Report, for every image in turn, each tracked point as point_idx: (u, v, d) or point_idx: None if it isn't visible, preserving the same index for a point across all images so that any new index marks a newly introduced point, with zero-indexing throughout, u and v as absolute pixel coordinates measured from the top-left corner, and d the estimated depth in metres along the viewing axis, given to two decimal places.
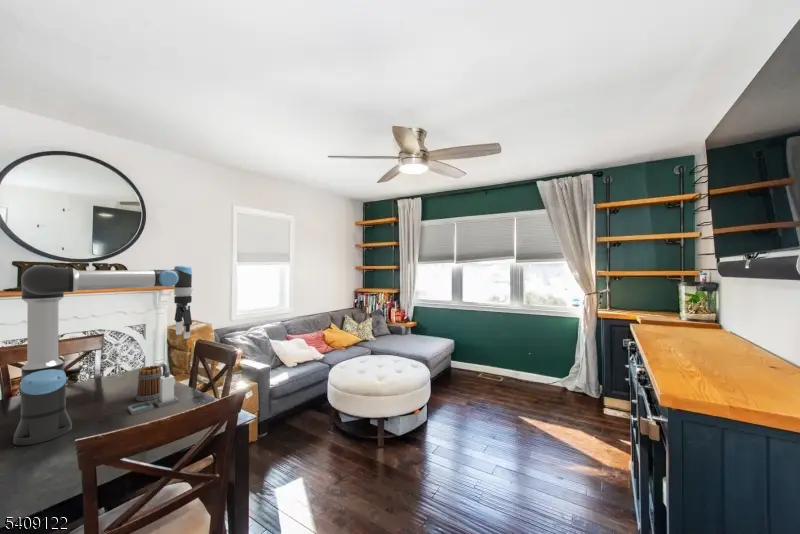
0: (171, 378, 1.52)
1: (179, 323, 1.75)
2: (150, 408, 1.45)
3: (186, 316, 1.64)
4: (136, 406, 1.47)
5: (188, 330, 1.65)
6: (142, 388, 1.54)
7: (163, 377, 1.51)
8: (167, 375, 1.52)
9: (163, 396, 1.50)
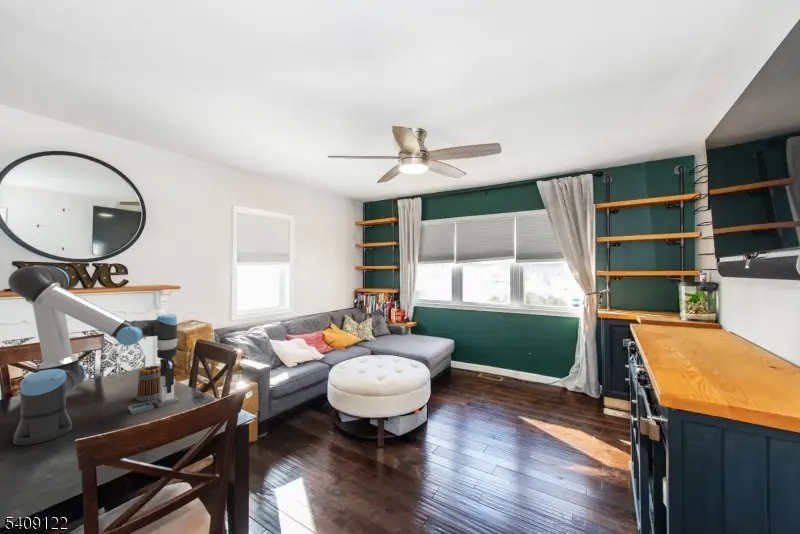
0: None
1: None
2: (150, 408, 1.45)
3: (168, 376, 1.48)
4: (136, 406, 1.47)
5: (169, 391, 1.50)
6: (142, 388, 1.54)
7: (163, 377, 1.51)
8: None
9: (163, 396, 1.50)
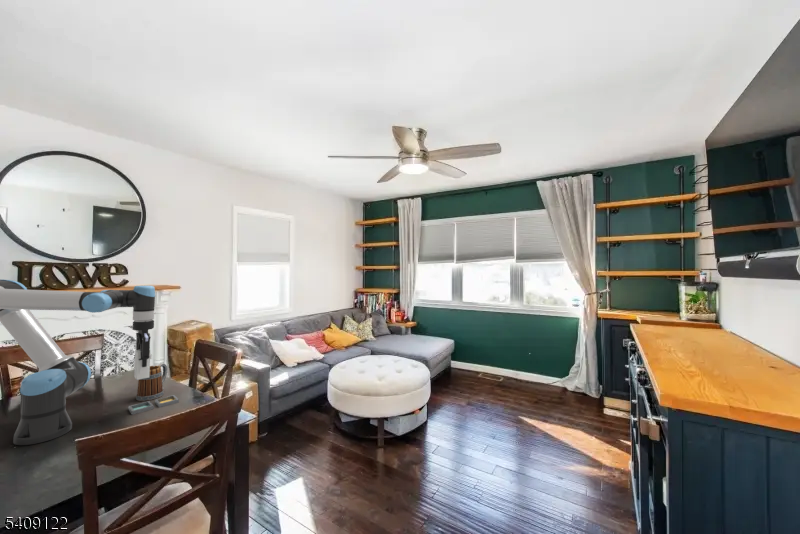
0: None
1: None
2: (150, 408, 1.45)
3: (144, 349, 1.41)
4: (136, 406, 1.47)
5: (145, 365, 1.43)
6: (142, 388, 1.54)
7: (138, 351, 1.45)
8: None
9: (138, 370, 1.43)
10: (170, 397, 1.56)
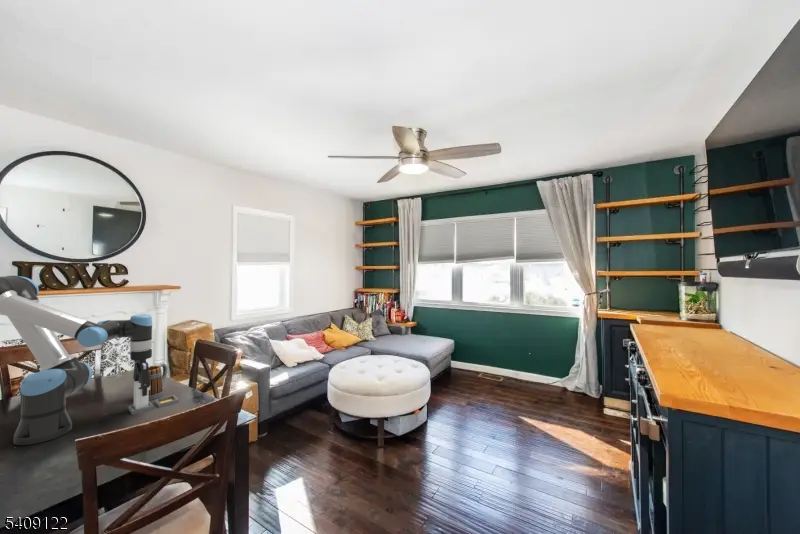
0: None
1: None
2: (150, 408, 1.45)
3: (143, 378, 1.40)
4: None
5: (145, 394, 1.41)
6: None
7: (136, 383, 1.44)
8: None
9: (136, 402, 1.43)
10: (170, 397, 1.56)
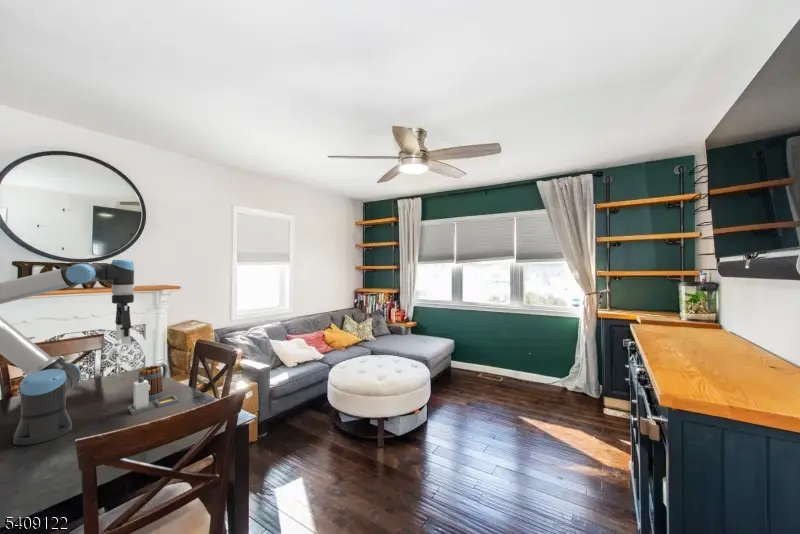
0: (145, 383, 1.45)
1: (120, 326, 1.51)
2: (150, 408, 1.45)
3: (124, 318, 1.41)
4: None
5: (127, 334, 1.41)
6: None
7: (136, 383, 1.44)
8: (141, 380, 1.45)
9: (136, 402, 1.43)
10: (170, 397, 1.56)
